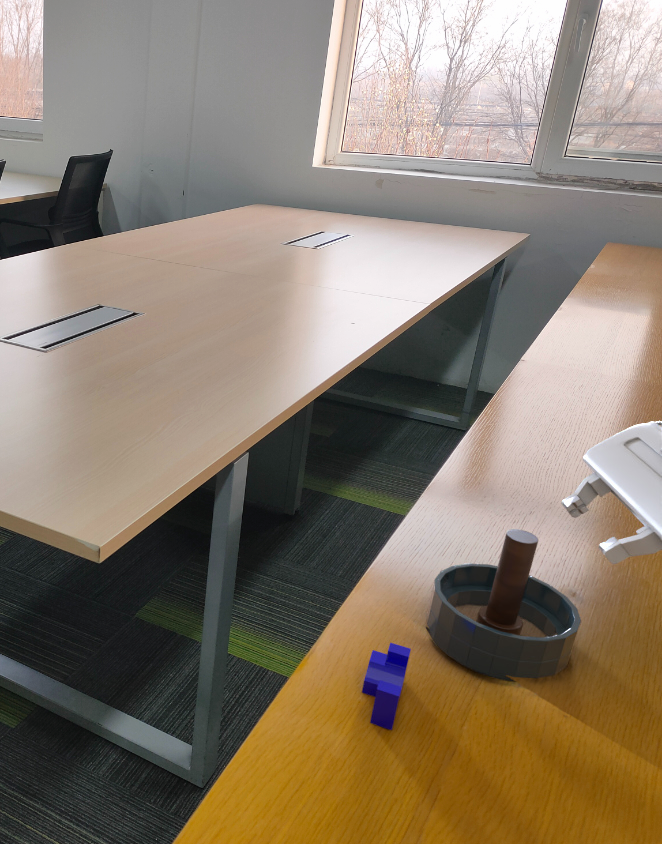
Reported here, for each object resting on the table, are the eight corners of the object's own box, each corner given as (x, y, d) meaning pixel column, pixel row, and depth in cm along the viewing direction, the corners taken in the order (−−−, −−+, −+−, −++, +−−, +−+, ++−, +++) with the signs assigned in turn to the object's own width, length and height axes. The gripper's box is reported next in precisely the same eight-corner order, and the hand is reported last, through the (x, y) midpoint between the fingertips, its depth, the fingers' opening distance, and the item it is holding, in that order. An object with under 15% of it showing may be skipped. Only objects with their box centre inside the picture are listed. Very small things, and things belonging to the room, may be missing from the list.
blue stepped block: (368, 669, 84) (375, 638, 82) (403, 680, 82) (410, 648, 81) (353, 717, 77) (360, 683, 75) (391, 730, 75) (399, 696, 74)
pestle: (525, 643, 87) (554, 540, 82) (502, 657, 85) (531, 551, 80) (487, 622, 91) (514, 521, 86) (464, 635, 88) (490, 532, 83)
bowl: (591, 659, 86) (607, 612, 84) (518, 707, 79) (533, 657, 77) (472, 594, 97) (483, 551, 95) (398, 631, 90) (407, 585, 88)
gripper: (647, 395, 87) (531, 468, 92) (765, 476, 68) (611, 562, 73) (679, 436, 88) (562, 506, 93) (803, 527, 69) (649, 609, 74)
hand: (584, 532), depth 83 cm, fingers open, 8 cm apart
